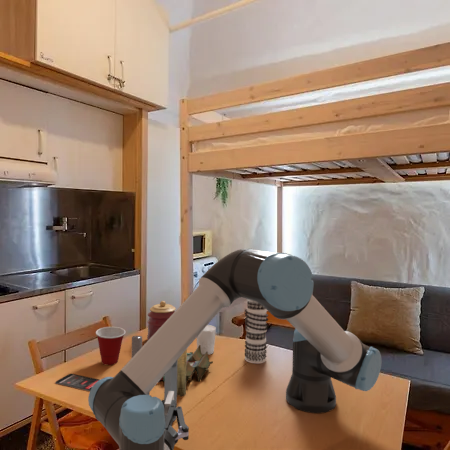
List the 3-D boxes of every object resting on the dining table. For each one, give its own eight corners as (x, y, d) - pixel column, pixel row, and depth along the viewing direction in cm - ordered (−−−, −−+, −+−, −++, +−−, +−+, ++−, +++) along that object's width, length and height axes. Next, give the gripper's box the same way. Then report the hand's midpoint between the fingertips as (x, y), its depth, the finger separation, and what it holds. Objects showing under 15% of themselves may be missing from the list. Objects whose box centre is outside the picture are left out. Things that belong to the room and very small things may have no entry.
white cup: (194, 349, 155) (194, 325, 155) (212, 347, 158) (212, 324, 157) (198, 356, 148) (198, 331, 147) (217, 354, 150) (218, 330, 150)
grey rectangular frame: (140, 408, 108) (141, 347, 107) (146, 405, 110) (147, 345, 109) (170, 423, 101) (171, 358, 100) (176, 419, 103) (177, 355, 102)
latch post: (186, 391, 119) (187, 336, 118) (185, 396, 116) (186, 339, 115) (177, 391, 119) (178, 335, 118) (175, 395, 116) (176, 339, 115)
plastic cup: (111, 370, 133) (111, 337, 132) (88, 364, 138) (89, 332, 137) (131, 360, 143) (131, 329, 142) (109, 354, 147) (110, 324, 147)
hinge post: (142, 401, 112) (143, 335, 112) (139, 406, 109) (140, 339, 109) (132, 400, 112) (133, 335, 112) (129, 406, 109) (130, 338, 109)
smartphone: (91, 390, 117) (54, 382, 122) (91, 392, 117) (54, 384, 123) (106, 380, 124) (70, 373, 129) (106, 383, 124) (70, 375, 129)
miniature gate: (144, 344, 151) (217, 345, 145) (145, 357, 151) (218, 359, 146) (113, 372, 124) (201, 374, 119) (114, 389, 124) (202, 392, 119)
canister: (167, 333, 174) (167, 296, 173) (182, 341, 164) (183, 301, 163) (142, 339, 166) (142, 299, 165) (156, 347, 156) (157, 306, 155)
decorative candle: (238, 357, 148) (240, 295, 147) (257, 352, 153) (259, 292, 152) (253, 365, 140) (254, 300, 139) (271, 360, 145) (273, 297, 144)
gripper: (120, 472, 75) (146, 409, 98) (185, 474, 75) (195, 410, 98) (120, 435, 74) (146, 381, 98) (185, 437, 74) (196, 382, 98)
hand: (171, 396), depth 98 cm, fingers closed
